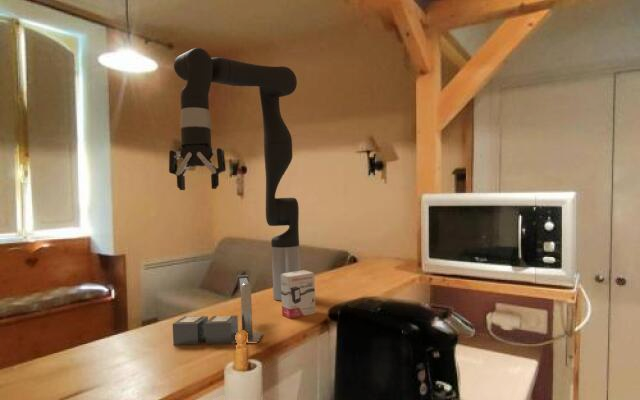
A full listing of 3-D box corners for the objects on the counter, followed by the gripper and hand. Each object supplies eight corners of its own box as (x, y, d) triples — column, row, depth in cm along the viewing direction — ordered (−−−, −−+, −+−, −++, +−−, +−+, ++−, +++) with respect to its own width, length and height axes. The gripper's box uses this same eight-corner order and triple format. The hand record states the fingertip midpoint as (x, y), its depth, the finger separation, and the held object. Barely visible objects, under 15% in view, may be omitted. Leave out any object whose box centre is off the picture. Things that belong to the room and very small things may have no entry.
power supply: (213, 336, 99) (213, 315, 99) (238, 335, 99) (237, 314, 99) (205, 345, 93) (205, 322, 93) (231, 344, 93) (230, 321, 93)
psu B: (185, 336, 100) (184, 315, 100) (208, 336, 99) (207, 315, 99) (173, 345, 94) (172, 323, 94) (198, 345, 93) (197, 322, 93)
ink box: (290, 319, 111) (288, 276, 111) (281, 315, 115) (279, 273, 115) (316, 313, 115) (314, 271, 115) (307, 309, 119) (305, 269, 119)
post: (238, 335, 99) (236, 281, 99) (262, 334, 98) (260, 281, 98) (231, 344, 93) (229, 287, 93) (257, 343, 92) (255, 286, 92)
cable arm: (251, 298, 98) (251, 285, 98) (239, 300, 97) (239, 286, 97) (248, 286, 113) (247, 274, 113) (238, 287, 112) (237, 275, 112)
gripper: (163, 126, 103) (165, 190, 103) (218, 123, 102) (220, 188, 102) (175, 131, 111) (177, 191, 111) (226, 128, 110) (229, 188, 110)
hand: (198, 189), depth 106 cm, fingers open, 8 cm apart
